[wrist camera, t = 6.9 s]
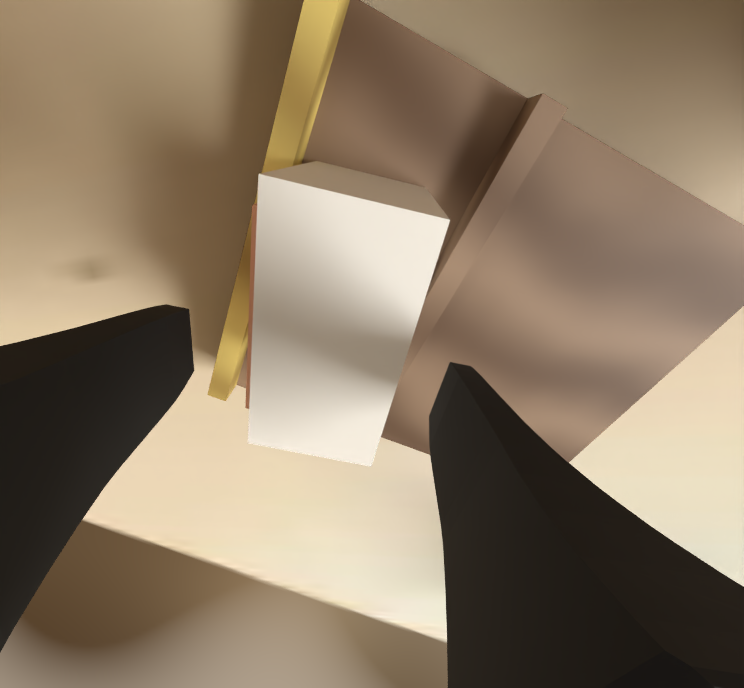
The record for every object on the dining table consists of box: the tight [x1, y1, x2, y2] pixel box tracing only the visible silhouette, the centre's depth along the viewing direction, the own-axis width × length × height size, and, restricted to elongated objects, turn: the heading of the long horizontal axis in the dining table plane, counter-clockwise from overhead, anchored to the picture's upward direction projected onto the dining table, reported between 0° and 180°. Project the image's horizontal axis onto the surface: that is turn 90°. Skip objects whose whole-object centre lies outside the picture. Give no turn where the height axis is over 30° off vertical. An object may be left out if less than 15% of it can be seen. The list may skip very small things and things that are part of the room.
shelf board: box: [208, 0, 744, 463], centre depth 17 cm, size 18×22×3 cm
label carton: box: [246, 161, 450, 467], centre depth 13 cm, size 9×5×7 cm, turn 168°
